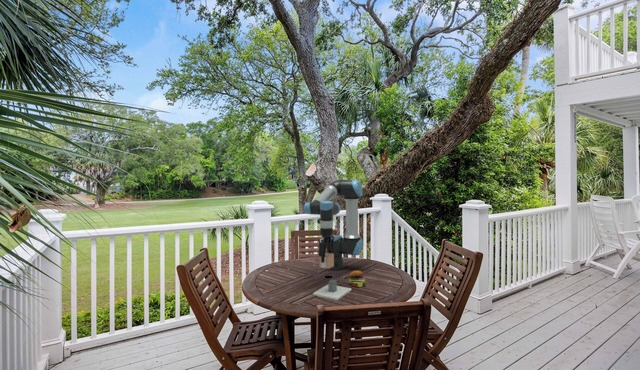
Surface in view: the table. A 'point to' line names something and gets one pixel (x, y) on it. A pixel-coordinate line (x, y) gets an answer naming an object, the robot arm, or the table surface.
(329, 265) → the tan wooden block
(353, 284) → the cheeseburger
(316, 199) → the robot arm
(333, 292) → the post board
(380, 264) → the table surface
